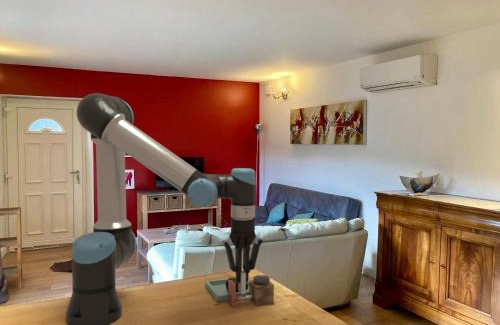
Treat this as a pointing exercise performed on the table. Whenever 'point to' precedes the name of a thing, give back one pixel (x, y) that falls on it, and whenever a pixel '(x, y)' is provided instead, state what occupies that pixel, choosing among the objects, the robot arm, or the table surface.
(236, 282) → the tape measure
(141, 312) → the table surface
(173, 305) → the table surface
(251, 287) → the pulley block
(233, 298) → the lock pin
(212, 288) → the tray
